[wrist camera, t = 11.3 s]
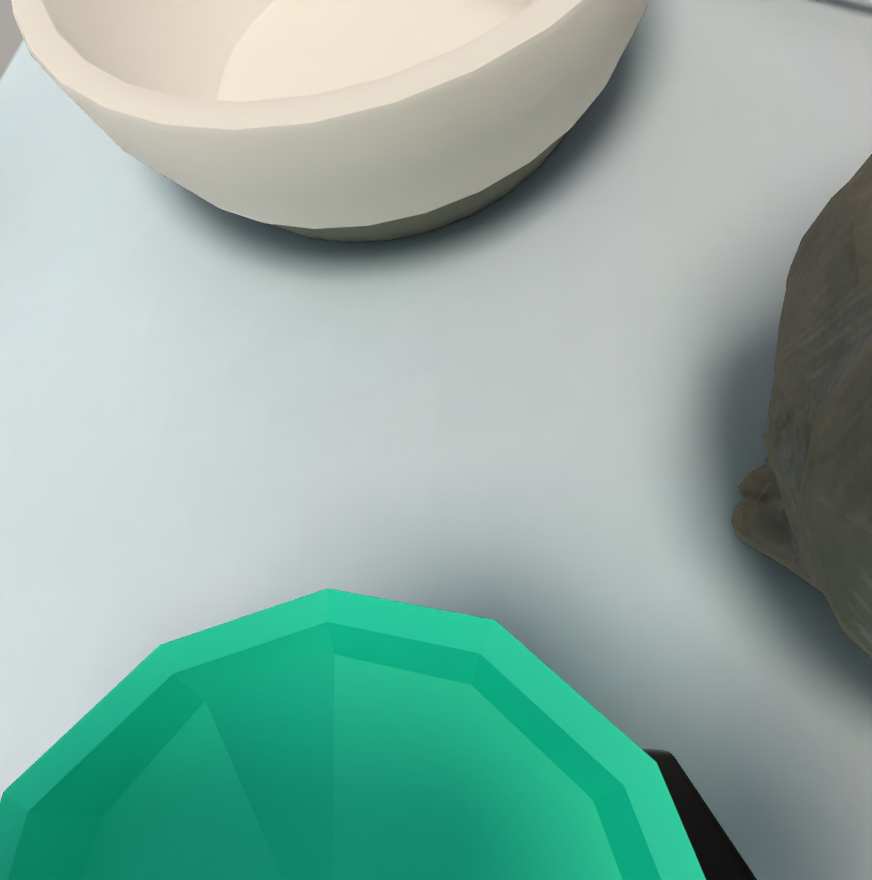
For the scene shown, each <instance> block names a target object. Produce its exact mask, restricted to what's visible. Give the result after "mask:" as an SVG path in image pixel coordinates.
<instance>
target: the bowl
mask: <svg viewBox="0 0 872 880" xmlns="http://www.w3.org/2000/svg"><path fill="white" fill-rule="evenodd" d="M649 2H650V0H12V9H13V14H14V17H15V20H16V22H17V25H18V27H19V29H20V31H21V33H22V36H23V38H24V40H25V43H26V45H27V47H28V49H29V52H30V54H31V56H32V57H33V58H34V59H35V61H36V62H37V63H38V64H39V65H40V66H41V67H42V68H43V69H44V70H45V71H46V72H47V74H48V75H49V76H50V77H51V78H52V79H53V80H54V81H55V82H56V83H57V84H58V85H59V87H60V88H61V89H62V90H63V91H64V92H65V93H66V94H67V95H68V96H69V97H70V98H71V99H72V100H73V101H74V102H75V103H76V104H77V105H78V106H79V107H80V108H81V109H82V110H83V111H84V112H85V113H86V114H87V115H88V116H89V117H90V118H91V119H92V120H93V121H94V122H95V123H96V124H97V125H98V126H99V127H100V128H101V129H102V130H103V131H104V132H105V133H106V134H107V135H108V136H109V137H110V138H111V139H112V140H113V141H114V142H115V143H116V144H117V145H118V146H119V147H120V148H121V149H122V150H123V151H125V152H126V153H128V154H130V155H131V156H133V157H135V158H136V159H138V160H139V161H141V162H143V163H144V164H146V165H148V166H149V167H151V168H153V169H154V170H156V171H158V172H159V173H161V174H162V175H164V176H166V177H167V178H169V179H171V180H173V181H174V182H176V183H178V184H179V185H181V186H183V187H184V188H186V189H188V190H189V191H191V192H193V193H194V194H196V195H198V196H199V197H201V198H203V199H204V200H206V201H208V202H210V203H211V204H213V205H215V206H216V207H218V208H220V209H223V210H226V211H229V212H232V213H235V214H238V215H241V216H244V217H247V218H250V219H253V220H256V221H259V222H262V223H268V224H272V225H274V226H275V227H278V228H281V229H284V230H287V231H290V232H293V233H296V234H299V235H302V236H305V237H308V238H315V239H323V240H331V241H339V242H366V241H385V240H392V239H397V238H401V237H406V236H410V235H415V234H420V233H424V232H429V231H432V230H435V229H437V228H440V227H442V226H445V225H447V224H450V223H452V222H455V221H458V220H460V219H463V218H465V217H468V216H470V215H472V214H474V213H476V212H477V211H479V210H481V209H482V208H484V207H486V206H487V205H489V204H491V203H493V202H494V201H496V200H498V199H499V198H501V197H503V196H504V195H506V194H508V193H509V192H510V191H511V190H513V189H514V188H515V187H516V186H517V185H519V184H520V183H521V182H522V181H523V180H524V179H526V178H527V177H528V176H529V175H530V174H532V173H533V172H534V171H535V170H536V169H538V168H539V167H540V166H541V164H542V163H543V162H544V161H545V159H546V158H547V157H548V156H549V155H550V153H551V152H552V151H553V150H554V149H555V147H556V146H557V145H558V144H559V142H560V141H561V140H562V139H563V138H564V136H565V134H566V132H567V131H568V130H569V129H570V128H572V127H573V126H574V124H575V123H576V122H577V121H578V119H579V118H580V117H581V116H582V115H583V113H584V112H585V111H586V110H587V109H588V107H589V106H590V105H591V104H592V102H593V101H594V100H595V99H596V98H597V96H598V95H599V94H600V93H601V92H602V90H603V89H604V88H605V86H606V84H607V82H608V80H609V79H610V77H611V75H612V73H613V71H614V69H615V67H616V65H617V63H618V61H619V59H620V58H621V56H622V54H623V52H624V50H625V48H626V46H627V44H628V42H629V40H630V38H631V37H632V35H633V33H634V31H635V29H636V27H637V25H638V23H639V21H640V19H641V17H642V16H643V14H644V12H645V10H646V8H647V6H648V4H649Z"/></svg>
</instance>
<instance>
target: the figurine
mask: <svg viewBox="0 0 872 880" xmlns="http://www.w3.org/2000/svg"><path fill="white" fill-rule="evenodd" d="M764 437H765V443H766V450H767V457H766V460H765V465H763V466H762V467H760V468H758V469H755V470H753V471H751V472H749V473H748V474H747V475H746V477H745V479H744V481H743V482H742V483H741V484H740V486H739V487H738V488H739V491H740V494H741V496H742V499H743V500H741V501H740V502H739V503H738V505H737V506H736V508H735V509H734V511H733V517H732V523H733V527H734V530H735V533H736V535H737V537H738V538H739V539H740V540H741V541H742V542H744V543H745V544H746V545H748V546H749V547H751V548H753V549H755V550H757V551H759V552H760V553H762V554H764V555H766V556H768V557H769V558H771V559H773V560H774V561H776V562H777V563H779V564H781V565H782V566H784V567H785V568H787V569H789V570H790V571H792V572H793V573H795V574H796V575H798V576H799V577H800V578H802V579H803V580H805V581H806V582H807V583H809V584H810V585H812V586H813V587H815V588H816V589H817V590H819V591H820V592H822V593H823V594H825V596H826V599H827V601H828V603H829V606H830V608H831V610H832V612H833V614H834V616H835V617H836V619H837V620H838V622H839V624H840V625H841V627H842V629H843V630H844V632H845V633H846V634H847V635H848V636H849V637H850V638H851V639H852V640H853V641H854V642H855V643H856V644H857V645H858V646H859V647H860V648H861V649H862V650H863V651H864V652H865V653H866V654H867V655H868V656H870V657H871V658H872V154H871V156H870V157H869V158H868V159H867V160H866V162H865V163H864V164H863V165H862V166H861V168H860V169H859V170H858V171H857V172H856V174H855V175H854V176H853V177H852V179H851V180H850V181H849V182H848V183H847V184H846V185H845V186H844V187H843V188H842V189H840V190H839V191H838V192H837V193H836V194H835V195H834V196H833V197H832V198H831V199H830V201H829V202H828V203H827V205H826V206H825V208H824V209H823V210H822V212H821V213H820V214H819V216H818V217H817V219H816V220H815V221H814V223H813V224H812V225H811V227H810V228H809V230H808V231H807V232H806V234H805V235H804V236H803V238H802V240H801V242H800V245H799V247H798V250H797V252H796V255H795V257H794V260H793V262H792V264H791V267H790V270H789V273H788V277H787V283H786V293H785V298H784V303H783V309H782V314H781V319H780V325H779V333H778V342H777V352H776V362H775V371H774V380H773V387H772V393H771V399H770V405H769V411H768V418H767V424H766V429H765V433H764Z"/></svg>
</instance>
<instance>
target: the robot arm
mask: <svg viewBox="0 0 872 880" xmlns="http://www.w3.org/2000/svg"><path fill="white" fill-rule="evenodd" d="M642 750H643V751H644V752H645V753H647V754H648V755H649V756H650V757H651V758H652V759H653V760H654V761H656V762H657V765H658V767H659V769H660V772H661V774H662V776H663V779H664V781H665V783H666V786H667V788H668V791H669V793H670V795H671V798H672V800H673V802H674V805H675V807H676V810H677V812H678V814H679V817H680V819H681V821H682V824H683V826H684V829H685V831H686V833H687V836H688V838H689V840H690V843H691V845H692V848H693V850H694V852H695V855H696V857H697V859H698V862H699V864H700V867H701V869H702V871H703V874H704V876H705V878H706V880H757V879H756V877H755V876H754V874H753V873H752V871H751V870H750V868H749V867H748V865H747V864H746V862H745V861H744V859H743V858H742V856H741V855H740V854H739V852H738V851H737V849H736V848H735V846H734V845H733V843H732V842H731V840H730V839H729V837H728V836H727V834H726V833H725V831H724V830H723V828H722V827H721V825H720V824H719V822H718V821H717V819H716V818H715V816H714V815H713V813H712V812H711V810H710V809H709V807H708V806H707V804H706V803H705V802H704V800H703V799H702V797H701V796H700V794H699V793H698V791H697V790H696V788H695V787H694V785H693V784H692V782H691V781H690V779H689V778H688V776H687V775H686V773H685V772H684V770H683V769H682V767H681V766H680V764H679V763H678V761H677V760H676V759H675V757H674V756H673V755H672V754H671V753H670V752H668V751H665V750H651V749H642Z"/></svg>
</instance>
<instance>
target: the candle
mask: <svg viewBox="0 0 872 880" xmlns="http://www.w3.org/2000/svg"><path fill="white" fill-rule="evenodd" d="M0 880H706V878H705V876H704V874H703V871H702V869H701V867H700V864H699V862H698V859H697V857H696V855H695V852H694V850H693V848H692V845H691V843H690V840H689V838H688V836H687V833H686V831H685V829H684V826H683V824H682V821H681V819H680V817H679V814H678V812H677V810H676V807H675V805H674V802H673V800H672V798H671V795H670V793H669V791H668V788H667V786H666V783H665V781H664V779H663V776H662V774H661V772H660V769H659V767H658V765H657V762H656V761H654V760H653V759H652V758H651V757H650V756H649V755H648V754H647V753H645V752H644V751H643V750H642V749H641V748H640V747H639V746H637V745H636V744H635V743H634V742H633V741H632V740H631V739H630V738H628V737H627V736H626V735H625V734H624V733H623V732H622V731H620V730H619V729H618V728H617V727H616V726H615V725H614V724H612V723H611V722H610V721H609V720H608V719H607V718H606V717H605V716H603V715H602V714H601V713H600V712H599V711H598V710H597V709H595V708H594V707H593V706H592V705H591V704H590V703H589V702H588V701H586V700H585V699H584V698H583V697H582V696H581V695H580V694H578V693H577V692H576V691H575V690H574V689H573V688H572V687H571V686H569V685H568V684H567V683H566V682H565V681H564V680H563V679H561V678H560V677H559V676H558V675H557V674H556V673H555V672H553V671H552V670H551V669H550V668H549V667H548V666H547V665H546V664H544V663H543V662H542V661H541V660H540V659H539V658H538V657H536V656H535V655H534V654H533V653H532V652H531V651H530V650H529V649H527V648H526V647H525V646H524V645H523V644H522V643H521V642H519V641H518V640H517V639H516V638H515V637H514V636H513V635H512V634H510V633H509V632H508V631H507V630H506V629H505V628H504V627H502V626H501V625H500V624H499V623H498V622H497V621H496V620H492V619H486V618H481V617H476V616H471V615H465V614H460V613H455V612H449V611H444V610H439V609H434V608H428V607H423V606H418V605H412V604H407V603H402V602H397V601H391V600H386V599H381V598H375V597H370V596H365V595H360V594H354V593H349V592H344V591H339V590H333V589H325V590H322V591H319V592H316V593H313V594H310V595H307V596H304V597H301V598H298V599H295V600H292V601H289V602H286V603H283V604H280V605H277V606H274V607H271V608H268V609H265V610H262V611H259V612H256V613H253V614H250V615H247V616H244V617H241V618H239V619H236V620H233V621H230V622H227V623H224V624H221V625H218V626H215V627H212V628H209V629H206V630H203V631H200V632H197V633H194V634H191V635H188V636H185V637H182V638H179V639H176V640H173V641H170V642H167V643H164V644H161V645H160V646H159V647H157V648H156V649H155V650H154V651H153V652H152V653H151V654H150V655H149V656H148V657H147V658H146V659H145V660H144V661H143V662H141V663H140V664H139V665H138V666H137V667H136V668H135V669H134V670H133V671H132V672H131V673H130V674H129V675H128V676H127V677H125V678H124V679H123V680H122V681H121V682H120V683H119V684H118V685H117V686H116V687H115V688H114V689H113V690H112V691H111V692H110V693H108V694H107V695H106V696H105V697H104V698H103V699H102V700H101V701H100V702H99V703H98V704H97V705H96V706H95V707H94V708H92V709H91V710H90V711H89V712H88V713H87V714H86V715H85V716H84V717H83V718H82V719H81V720H80V721H79V722H78V723H76V724H75V725H74V726H73V727H72V728H71V729H70V730H69V731H68V732H67V733H66V734H65V735H64V736H63V737H62V738H60V739H59V740H58V741H57V742H56V743H55V744H54V745H53V746H52V747H51V748H50V749H49V750H48V751H47V752H46V753H45V754H43V755H42V756H41V757H40V758H39V759H38V760H37V761H36V762H35V763H34V764H33V765H32V766H31V767H30V768H29V769H27V770H26V771H25V772H24V773H23V774H22V775H21V776H20V777H19V778H18V779H17V780H16V781H15V782H14V783H13V784H11V785H10V786H9V787H8V788H7V789H6V790H5V791H4V792H3V795H2V798H1V802H0Z"/></svg>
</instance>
